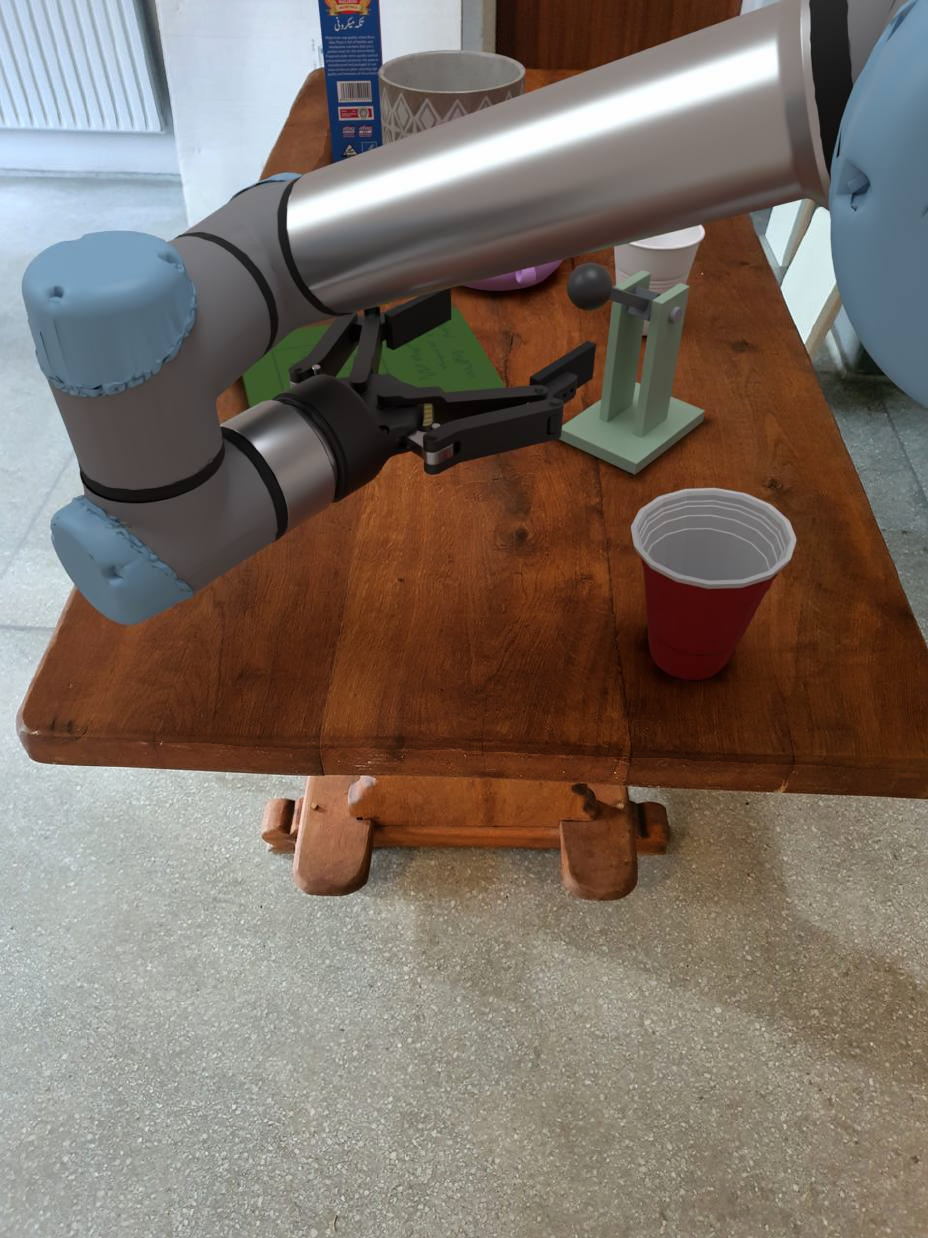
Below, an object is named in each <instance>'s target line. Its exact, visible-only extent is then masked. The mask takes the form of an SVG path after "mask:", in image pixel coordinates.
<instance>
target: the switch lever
mask: <svg viewBox="0 0 928 1238" xmlns="http://www.w3.org/2000/svg"><path fill="white" fill-rule="evenodd" d="M567 279H568V280H567V283H566V292H567V296H568V298H569V301H570V302H571V304H573V305H574V306H575V307H576V308H578V309H579V310H582V311H587V312H588V311H589V312H592V311H595V310H599V309H601V308H603V306H605V305H606V304H607V302H608V301H611V302H612V301H614V302H617V303H621V304H624V305H627V306H630V307H629V309H628V312H627V313H628V314H630V315H633V316H636V317H639V318H641V319H644V320H647V321H650V315H651V308H652V301H653V300H654V299H655V298H657V297H659V296H660V295H662V294H659V293H656V292H653V291H650V290H647V289H645V288H642V287H639V286H637V288H636V291H635V293H634V294H632V293H629V292H626V291H623V290H620V289H617V288H614V285H613V278H612V276H611V274H610V272H609V271H608V269H607V268H606V267H604V266H603V265H601V264H599V263H596V262H586V263H583V264H580V265H579V266H577V267H575V269H574V270H573V271H572V272H571V273H570V275H569V277H568V278H567Z"/></svg>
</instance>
